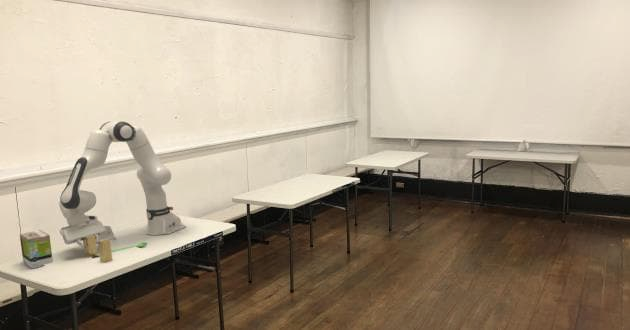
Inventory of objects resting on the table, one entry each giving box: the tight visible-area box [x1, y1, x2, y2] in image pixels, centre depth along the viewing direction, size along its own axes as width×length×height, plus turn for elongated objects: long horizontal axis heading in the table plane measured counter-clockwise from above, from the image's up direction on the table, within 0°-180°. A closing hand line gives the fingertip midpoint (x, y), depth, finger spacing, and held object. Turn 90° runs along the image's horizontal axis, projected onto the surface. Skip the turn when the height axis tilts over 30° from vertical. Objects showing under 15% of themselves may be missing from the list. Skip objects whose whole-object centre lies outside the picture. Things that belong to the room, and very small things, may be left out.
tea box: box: [19, 229, 54, 269], centre depth 249 cm, size 15×10×15 cm
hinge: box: [82, 225, 117, 243], centre depth 279 cm, size 17×5×10 cm, turn 139°
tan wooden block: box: [97, 239, 113, 263], centre depth 245 cm, size 4×4×10 cm
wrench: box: [111, 242, 148, 253], centre depth 263 cm, size 25×2×5 cm
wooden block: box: [84, 235, 98, 258], centre depth 254 cm, size 4×4×10 cm
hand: (90, 245), depth 254 cm, fingers open, 5 cm apart
